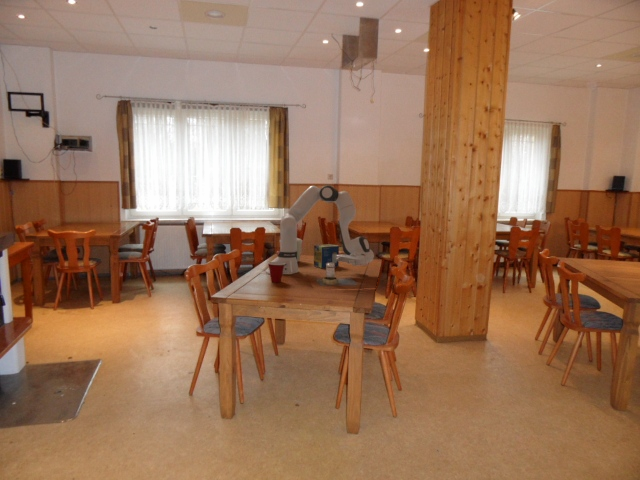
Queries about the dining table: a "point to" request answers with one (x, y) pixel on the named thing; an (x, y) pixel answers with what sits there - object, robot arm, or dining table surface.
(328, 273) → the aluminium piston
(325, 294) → the dining table surface
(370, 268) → the dining table surface
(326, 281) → the brass collar
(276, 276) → the plastic cup
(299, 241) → the canister
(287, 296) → the dining table surface
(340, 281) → the rubber mat
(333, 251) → the protein box
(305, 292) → the dining table surface
